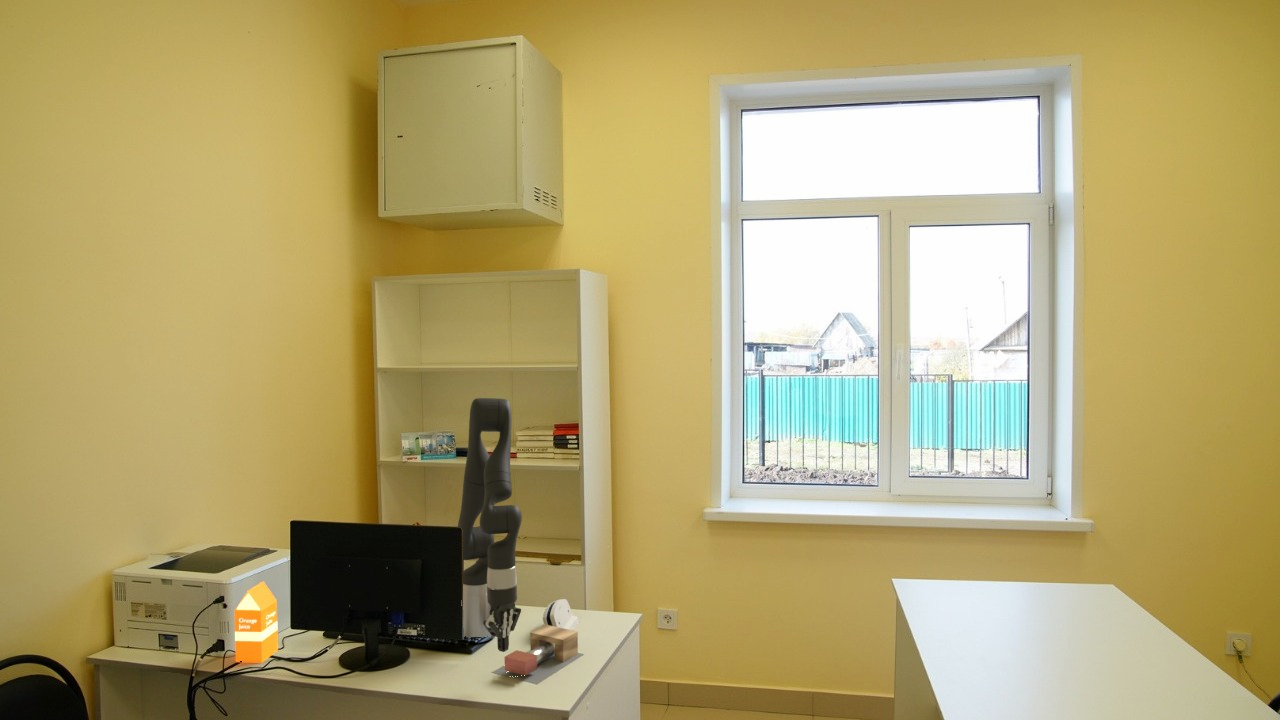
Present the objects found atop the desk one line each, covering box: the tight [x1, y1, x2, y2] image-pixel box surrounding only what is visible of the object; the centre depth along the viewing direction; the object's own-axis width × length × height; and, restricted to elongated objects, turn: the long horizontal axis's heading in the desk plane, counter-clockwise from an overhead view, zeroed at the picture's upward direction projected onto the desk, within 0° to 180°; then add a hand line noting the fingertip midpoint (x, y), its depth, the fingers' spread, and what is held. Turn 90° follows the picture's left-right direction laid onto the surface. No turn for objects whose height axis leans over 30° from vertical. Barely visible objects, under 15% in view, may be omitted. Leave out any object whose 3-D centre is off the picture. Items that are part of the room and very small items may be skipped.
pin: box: [504, 642, 554, 675], centre depth 220 cm, size 15×7×5 cm, turn 150°
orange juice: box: [234, 581, 279, 664], centre depth 229 cm, size 8×9×20 cm
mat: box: [491, 649, 585, 685], centre depth 223 cm, size 15×22×1 cm
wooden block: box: [529, 624, 579, 663], centre depth 229 cm, size 11×7×6 cm, turn 60°
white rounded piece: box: [542, 598, 580, 631], centre depth 247 cm, size 17×5×10 cm, turn 170°
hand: (503, 650), depth 209 cm, fingers closed
